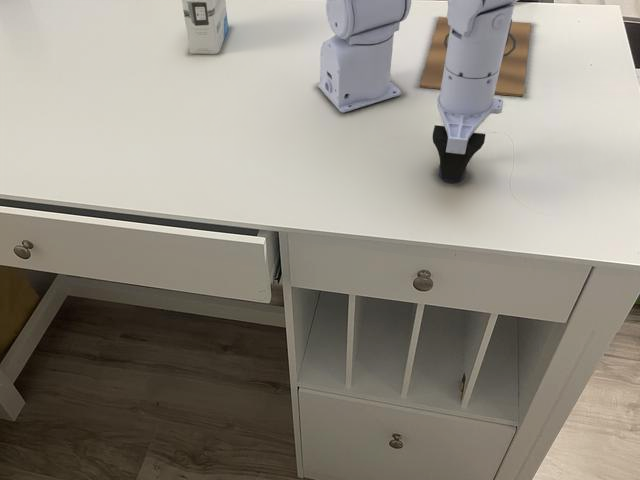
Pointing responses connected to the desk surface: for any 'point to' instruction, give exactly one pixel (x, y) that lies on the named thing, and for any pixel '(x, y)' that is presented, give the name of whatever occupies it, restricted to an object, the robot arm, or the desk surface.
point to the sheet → (511, 64)
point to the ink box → (205, 25)
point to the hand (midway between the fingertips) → (453, 166)
